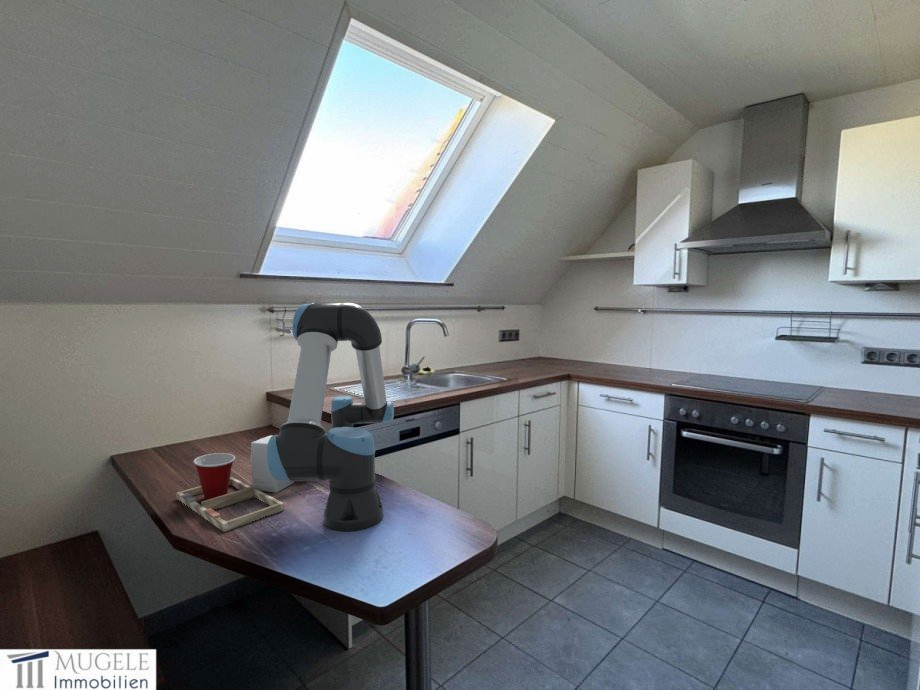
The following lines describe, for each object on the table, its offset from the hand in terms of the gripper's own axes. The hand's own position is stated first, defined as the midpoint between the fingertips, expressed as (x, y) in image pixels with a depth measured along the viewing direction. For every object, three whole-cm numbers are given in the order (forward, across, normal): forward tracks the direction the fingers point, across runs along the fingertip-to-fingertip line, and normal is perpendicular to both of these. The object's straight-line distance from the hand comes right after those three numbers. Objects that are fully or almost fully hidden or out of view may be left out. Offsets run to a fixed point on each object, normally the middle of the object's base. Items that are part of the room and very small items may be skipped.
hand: (263, 464), depth 141 cm
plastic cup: (+11, +6, -8) cm, 15 cm away
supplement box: (-3, 0, -8) cm, 9 cm away
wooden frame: (+12, -2, -8) cm, 15 cm away
